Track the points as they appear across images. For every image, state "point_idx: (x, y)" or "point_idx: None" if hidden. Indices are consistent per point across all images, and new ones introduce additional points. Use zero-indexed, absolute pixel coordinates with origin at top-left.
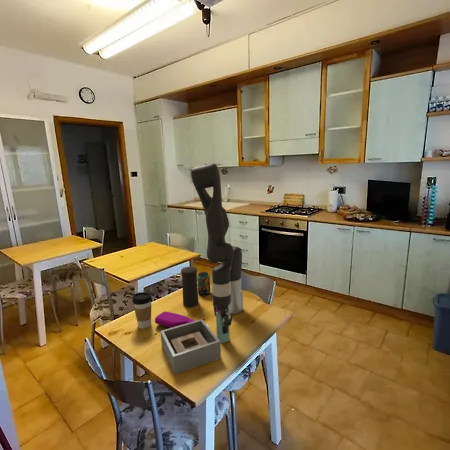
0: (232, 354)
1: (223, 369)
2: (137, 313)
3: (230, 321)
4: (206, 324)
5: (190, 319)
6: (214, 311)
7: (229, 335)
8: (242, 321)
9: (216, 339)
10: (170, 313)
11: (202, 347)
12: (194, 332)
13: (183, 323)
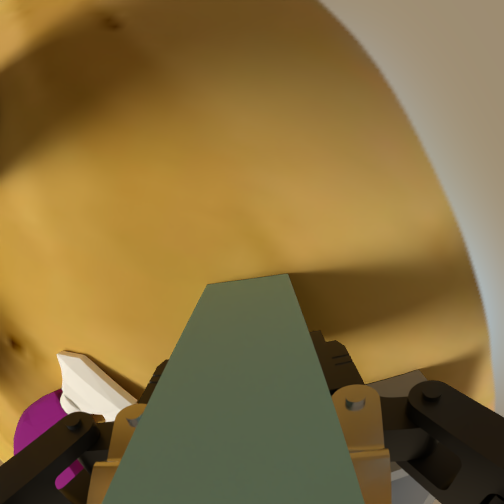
0: (430, 301)
1: (476, 365)
2: None
3: (500, 434)
4: (62, 364)
5: (39, 425)
6: (75, 497)
7: (293, 290)
8: (73, 92)
9: None
10: None
11: (433, 498)
12: None
13: (75, 461)
